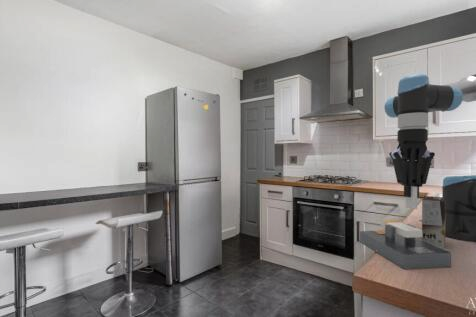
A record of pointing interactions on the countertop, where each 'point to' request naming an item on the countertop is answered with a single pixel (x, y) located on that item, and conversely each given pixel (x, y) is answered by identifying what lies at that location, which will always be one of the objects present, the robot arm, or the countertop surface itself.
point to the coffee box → (433, 220)
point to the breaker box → (405, 249)
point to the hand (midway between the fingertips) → (411, 207)
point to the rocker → (402, 228)
